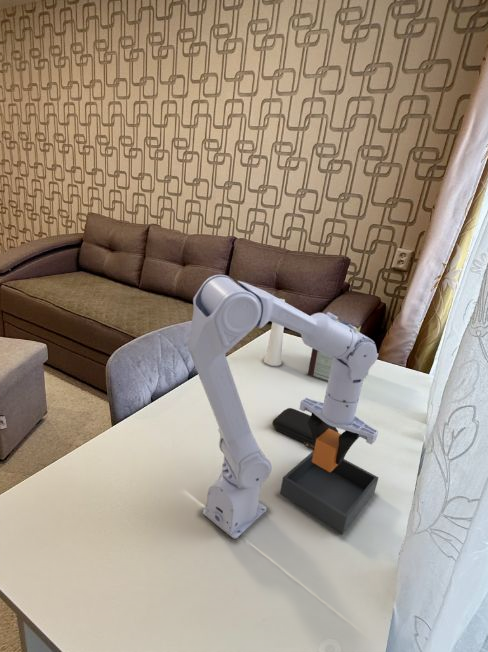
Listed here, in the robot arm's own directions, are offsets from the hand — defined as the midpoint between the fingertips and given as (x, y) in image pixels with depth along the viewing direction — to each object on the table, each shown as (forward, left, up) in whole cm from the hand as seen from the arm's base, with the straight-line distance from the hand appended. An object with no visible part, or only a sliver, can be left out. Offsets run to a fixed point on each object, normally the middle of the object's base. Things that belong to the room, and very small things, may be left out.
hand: (328, 455), depth 76 cm
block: (0, 0, -1) cm, 1 cm away
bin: (0, -1, -9) cm, 9 cm away
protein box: (+51, +25, -9) cm, 57 cm away
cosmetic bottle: (+31, +38, -1) cm, 49 cm away
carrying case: (+14, +13, -9) cm, 21 cm away
